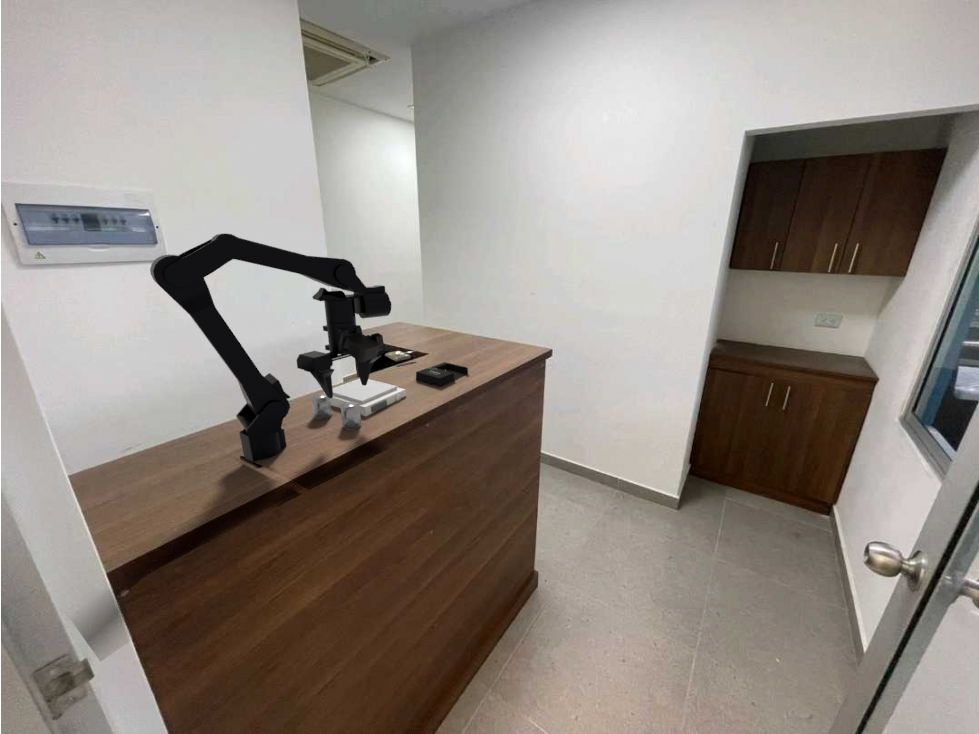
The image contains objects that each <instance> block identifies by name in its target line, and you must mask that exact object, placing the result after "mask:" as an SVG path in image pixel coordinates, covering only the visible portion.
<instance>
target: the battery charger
mask: <svg viewBox="0 0 979 734" xmlns="http://www.w3.org/2000/svg"><path fill="white" fill-rule="evenodd" d="M445 370H447V371H445ZM450 370H451V371H450ZM453 371H454V372H453ZM454 373H455V374H454ZM468 375H469V368H468V367H466V366H464V365H463V366H462V365H458V364H454V363H449V362H446V361H445V362H442V363H441V362H440V363H438V364H436V365H433V366H429V367H426V368H424V369H421V370H419V371H416V372H415V381H417V382H421V383H424V384H426V385H427V384H428V385H431V386H432V385H436V386H437V387H438V388H442V387H444V386H446V385H448V384H450V383H453V382H454V381H457V380H459V379H461V378H463V377H465V376H468Z"/></svg>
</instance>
